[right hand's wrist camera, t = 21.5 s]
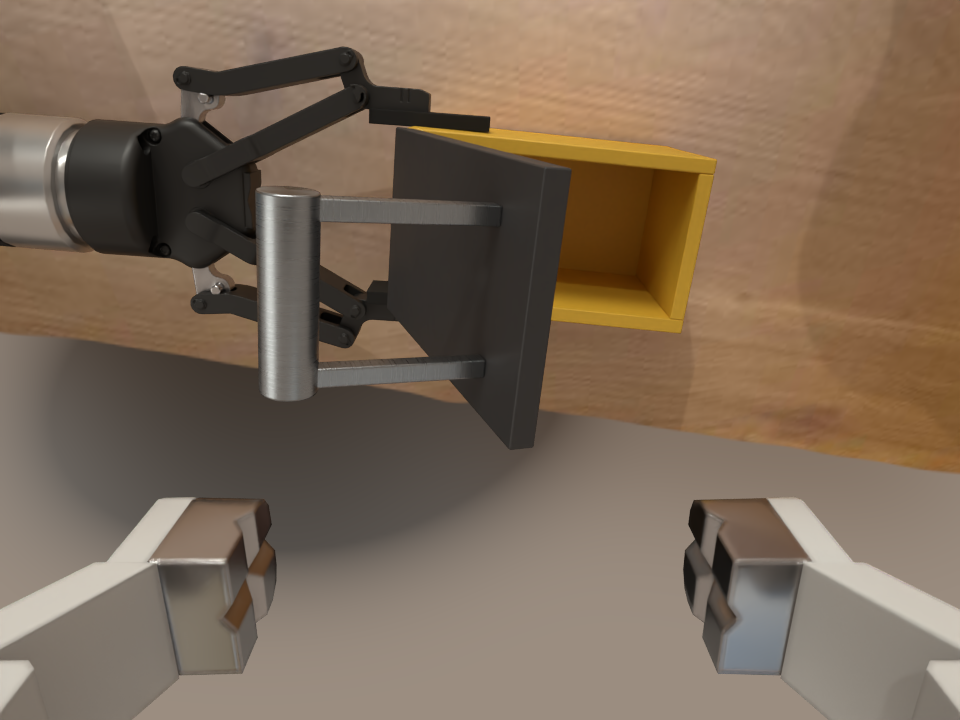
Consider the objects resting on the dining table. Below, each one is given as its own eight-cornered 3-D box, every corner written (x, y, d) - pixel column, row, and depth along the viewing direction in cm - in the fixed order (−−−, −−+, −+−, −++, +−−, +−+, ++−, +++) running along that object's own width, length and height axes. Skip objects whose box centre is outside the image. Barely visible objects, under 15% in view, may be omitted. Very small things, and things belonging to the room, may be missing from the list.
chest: (667, 146, 45) (718, 159, 35) (642, 284, 48) (681, 333, 38) (427, 121, 45) (406, 127, 35) (417, 262, 48) (396, 305, 38)
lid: (573, 168, 20) (264, 148, 17) (534, 448, 24) (269, 477, 20) (413, 128, 34) (227, 113, 31) (403, 307, 38) (234, 311, 34)
